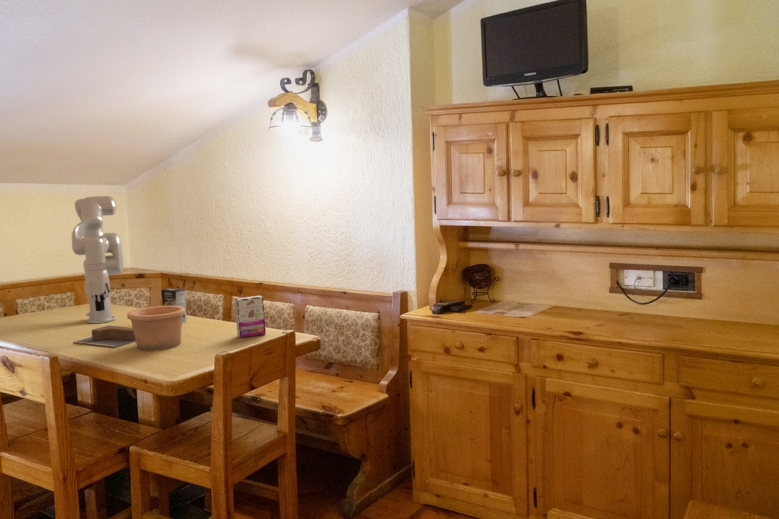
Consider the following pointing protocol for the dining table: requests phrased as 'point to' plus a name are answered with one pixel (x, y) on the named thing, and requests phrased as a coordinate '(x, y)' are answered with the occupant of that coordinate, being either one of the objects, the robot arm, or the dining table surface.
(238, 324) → the candy bar box
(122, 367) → the dining table surface
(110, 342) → the mat
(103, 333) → the brown boot
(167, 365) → the dining table surface
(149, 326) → the pottery
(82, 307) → the dining table surface
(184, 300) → the coffee box
